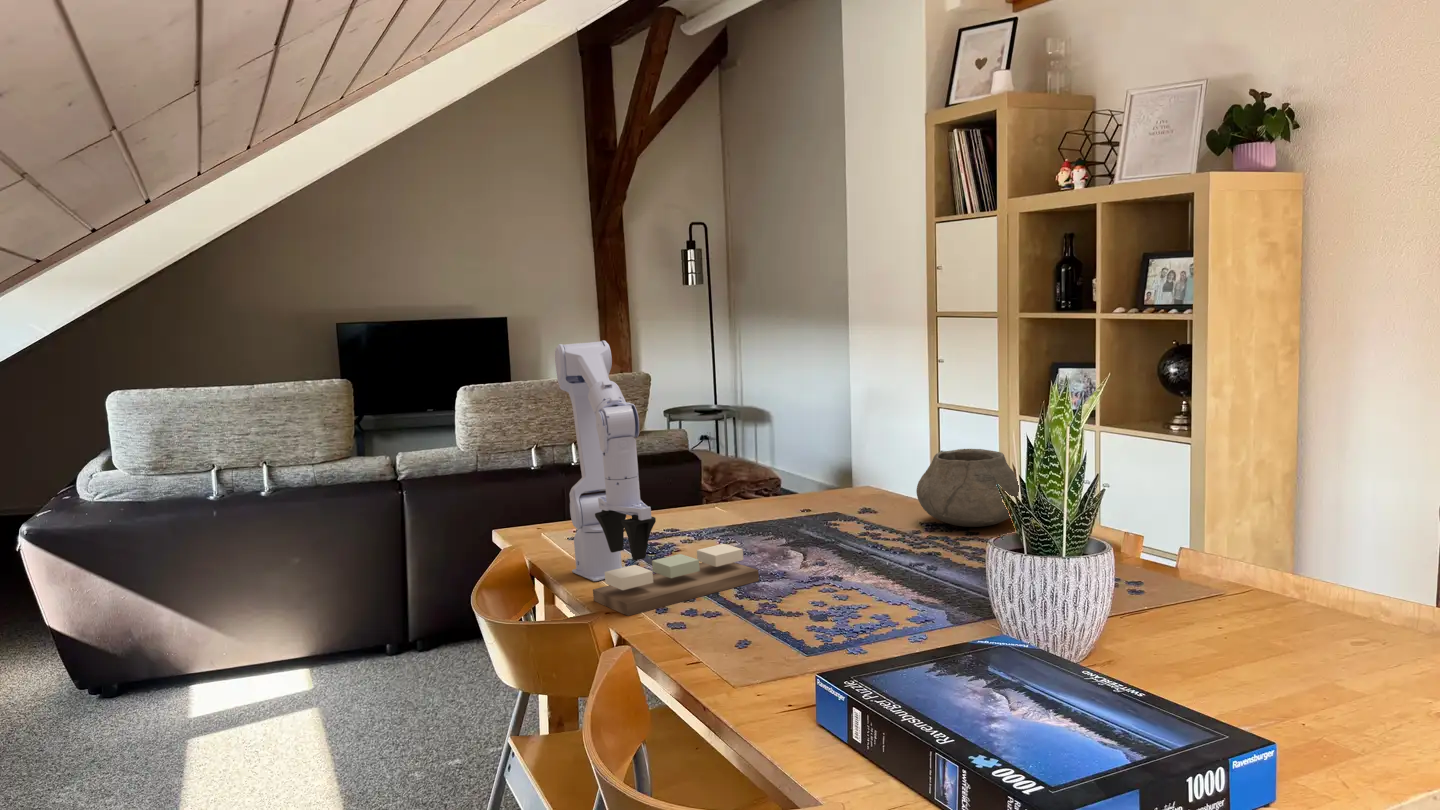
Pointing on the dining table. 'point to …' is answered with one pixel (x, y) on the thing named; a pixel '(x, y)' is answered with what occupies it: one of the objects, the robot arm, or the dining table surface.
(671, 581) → the board
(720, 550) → the key
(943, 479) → the clay pot
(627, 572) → the key
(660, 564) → the key middle
